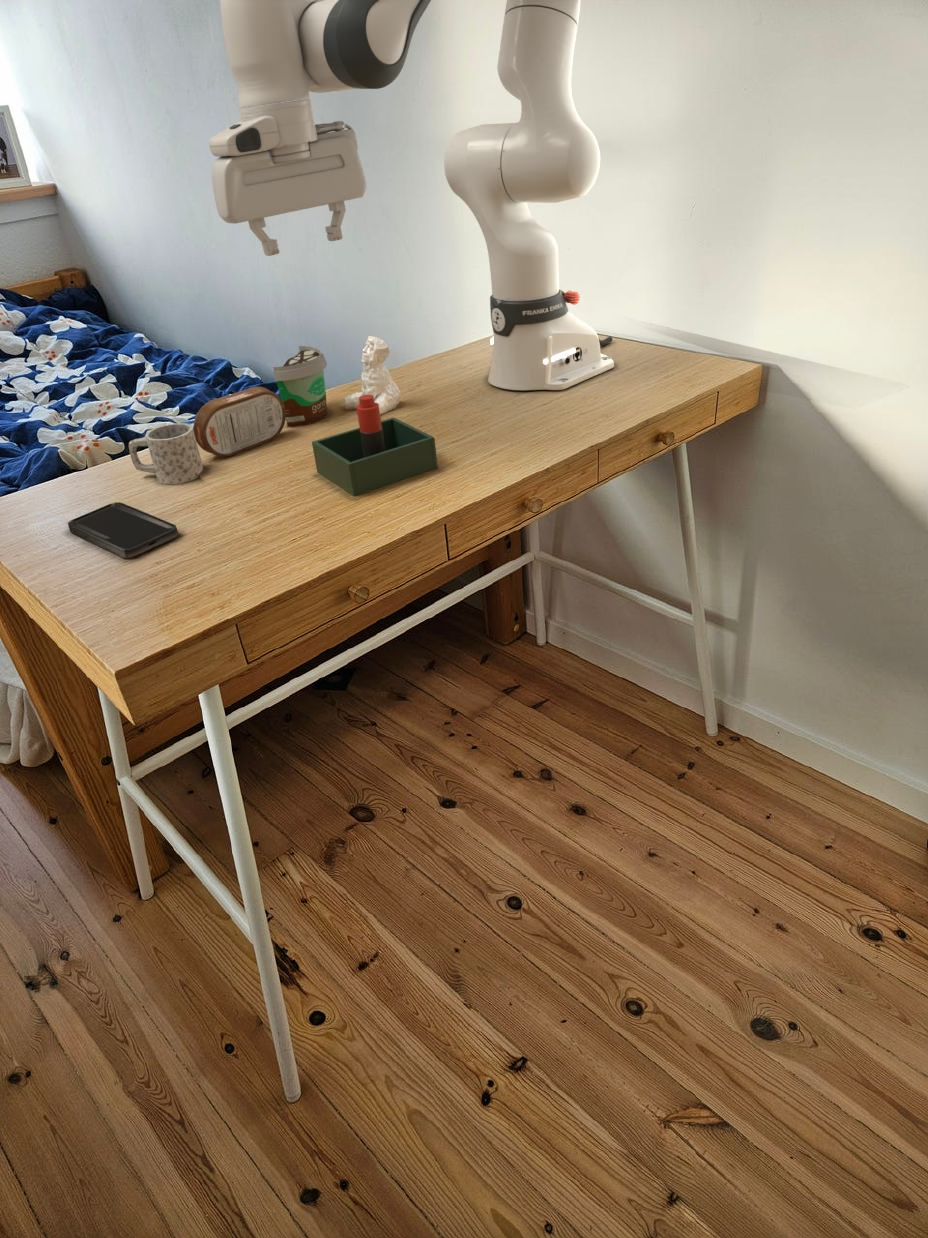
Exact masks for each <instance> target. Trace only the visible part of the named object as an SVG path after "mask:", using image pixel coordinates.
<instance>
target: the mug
mask: <svg viewBox="0 0 928 1238" xmlns="http://www.w3.org/2000/svg"><path fill="white" fill-rule="evenodd" d="M193 428H194V426H193V425H192V424H189V423H185V422H177V423H168V424H164V425H160V426H159V425H158V426H156V427H154V428H152V429H150V430H149V431H147V432H146V433H145V436H143V437H139V438H135V439H132V440H130V441H129V442H128V450H129V456H130V459H131V462H132V464H133V467H134V468H135V470H137V471H140V472H145V473H150V474H155V475H156V479H157V481H158V483H161V484H163V485H179V484H180V485H181V484H185V483H188V482H192V481H194V480H196V479H198V478H200V475H199V474H201V473H202V472H203V470H204V466H203V461H202V458H201V453H200V450H199V445H198V443H197V442H196V438H195V434H194V430H193ZM138 447H148V452H149V454H150V459H151V461H152V463H150V464H144V463H142V462H141V460H140V459H139V458H140V457H139V455H138V451H137V450H138V449H137V448H138Z"/></svg>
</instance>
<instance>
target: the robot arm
mask: <svg viewBox="0 0 928 1238" xmlns="http://www.w3.org/2000/svg"><path fill="white" fill-rule="evenodd" d="M581 1H582V0H506V4H505V9H504V16H503V24H502V31H501V38H500V44H499V52H498V58H497V65H496V66H497V67H496V69H497V74H498V77H499V80H500V83H501V85H502V87H503V88H504V89H505V90H506V91H507V92H508V93H509V94H510V95H511V96H513V97H514V98H515V99H517V100H519V101H520V106H521V108H520V110H521V112H520V119H519V121H518V122H506V123H505V122H503V123H484V124H479V125H476V126H472V127H468V128H466V129H464V130H460V131H458V132H456V133H455V134H454V135H453V136H452V137H451V138H450V140H449V142H448V144H447V146H446V149H445V153H444V159H443V168H444V176H445V178H446V182H447V184H448V186H449V187H450V189H451V191H452V192H453V193H454V194H455V195H456V196H457V197H459V199H460V200H462V201H463V203H465V205H466V206H467V207H468V208H469V210H470V211H471V213H472V214H473V216H474V218H475V220H476V222H477V223H478V226H479V227H480V230H481V232H482V235H483V238H484V241H485V244H486V248H487V255H488V262H489V272H490V281H491V295H490V296H489V310H490V321H491V322H490V323H491V326H492V332H493V333H492V335H493V336H492V337H491V338H490V340H489V341H490V345H492V352H491V353H492V354H491V361H490V368H489V373H488V378H487V381H488V383H489V384H490V385H491V386H493V387H496V388H499V389H504V390H510V391H538V390H539V391H541V390H542V391H543V390H547V391H563V390H566V389H569V388H571V387H573V386H575V385H577V384H579V383H581V382H584V381H586V380H588V379H591V378H593V377H595V376H597V375H601V374H602V373H605V372H607V371H610V370H611V369H613V368H615V361H614V360H613V359H612V357H610V356H607V355H606V354H603V353H602V352H601V347H603V346H607V345H608V344H610V343H611V342H612V341H613V336H608V337H606V338H605V339H600V338H599V336H598V334H597V332H596V331H595V329H594V328H593V327H591V326H590V325H588V323H585V322H584V321H583V320H581V319H580V318H578V317H577V316H575V315H574V314H573V313H571V312H570V311H569V307H568V305H567V304H571V305H575V306H576V305H577V304H578V303H579V301H580V300H581V299H580V298H581V295H580V294H579V292H578V291H572V290H567V291H566V292H565V291H563V290H562V289H560V275H559V274H560V273H559V272H560V271H559V270H560V269H559V247H558V243H557V240H556V238H555V237H554V235H553V234H552V233H551V232H550V231H549V230H547V229H546V228H545V227H543V226H541V225H540V224H539V223H538V222H537V221H536V220H535V218H534V217H533V214H532V212H531V209H530V208H529V205H528V203H532V204H533V203H543V204H544V203H545V204H546V203H547V204H553V203H555V204H556V203H561V202H566V201H570V200H575V199H577V198H582V197H584V196H586V195H587V194H588V193H589V192H590V191H591V190H592V187H593V186H594V185H595V183H596V181H597V178H598V175H599V172H600V168H601V167H600V166H601V150H600V147H599V143H598V140H597V138H596V137H595V134H594V132H592V130H591V129H590V128H589V127H588V126H587V125H586V124H585V122H584V121H583V120H582V119H581V117H580V115H579V113H578V112H577V109H576V106H575V103H574V99H573V92H572V74H573V65H574V64H573V62H574V53H575V47H576V41H577V35H578V34H577V33H578V29H579V20H580V10H581ZM431 2H432V0H220V4H219V8H220V19H221V29H222V33H223V41H224V44H225V45H224V46H225V49H226V54H227V58H228V64H229V67H230V71H231V72H232V75H233V76H234V79H235V81H236V85H237V89H238V90H237V91H238V108H239V114H240V117H241V119H240V120H238V121H237V122H235V123H234V124H232V125H230V126H229V127H227V128H225V129H223V130H222V131H220V132H219V133H216V134H215V135H214V136H212V137H211V138H210V139H209V141H208V146H209V150H210V153H211V154H212V155H213V156H214V157H218V158H216V159H215V160H214V162H213V164H212V166H211V182H212V183H211V184H212V190H213V196H214V202H215V206H216V211H217V214H218V216H219V217H220V218H221V219H222V220H223V221H224V222H225V223H227V224H240V223H241V224H242V223H244V222H245V223H246V222H248V226H249V229H250V231H251V232H252V233H253V234H254V235H255V237H256V238H257V239H258V241H260V242H261V245H262V251H263V253H264V255H265V256H267V257H271V256H274V255H275V256H276V255H278V254H280V248H279V243H278V240H277V238H275V239H274V238H270V237H269V236H268V234H267V233H266V232H265V230H264V229H263V228H266V221H265V218H269V217H275V216H278V215H284V214H288V213H294V212H298V211H302V210H308V209H312V208H317V207H322V206H328V210H329V212H332V215H331V221H330V225H328V226H324V228H325V233H326V239H327V241H329V242H336V241H341V240H342V239H343V232H342V224H343V221H344V218H345V214H346V205H345V201H351V200H355V199H359V198H363V197H364V196H365V194H366V191H367V181H366V177H365V172H364V168H363V165H362V160H361V158H360V155H359V152H358V148H359V147H358V140H357V135H356V132H355V130H354V129H353V128H352V126H351V125H349V124H347V123H345V122H344V121H343V120H335V121H333V122H329V123H326V122H324V123H317V124H316V122H315V117H314V112H313V106H312V100H311V96H310V93H317V94H321V93H322V94H323V93H324V94H325V93H332V92H342V91H349V90H355V89H358V90H379V89H380V90H381V89H383V88H386V87H388V86H389V85H390V84H392V83H393V82H394V81H395V80H396V79H397V78H398V77H399V76H400V74H401V72H402V70H403V67H404V66H405V63H406V60H407V57H408V55H409V49H410V46H411V42H412V39H413V35H414V33H415V30H416V28H417V25H418V23H420V22H419V21H420V20H421V18H422V17H423V14H424V13H425V12H426V9H427V8H428V6H429V5H430V3H431ZM345 128H346V129H345Z"/></svg>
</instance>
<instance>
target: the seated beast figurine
mask: <svg viewBox="0 0 928 1238" xmlns="http://www.w3.org/2000/svg"><path fill="white" fill-rule="evenodd" d="M361 350H362V351H361V352H362V354H361V355H362V356H361V361H360V362H361V364H363V365H362V372H361V376H360V379H361V391H360V392H354V393H350V395H347V396H346V397H344V404H345V408H346V410H347V411H353V410H357V405H359V404H360V402H359V397H360V396H362V395H373V396H374V402H376V403H378V404H379V411H380V416H382V415H383V414H387V413H389V412H391V411H393V410H396V408H397V407H398V405H399V403H400V401H401V398H402V392H401V390H400V389H399V387H398V385H397V383H396V382H395V381H394V380H393V378H392V376H391V373H390V372H389V369H388V367H387V366H386V365H385V364H384V362H386V359H387V358H389V354H390V348H389V345H388V344H387V343H386V341H385V340H384V339H382V338H380V337H377V336H374V335H373V336H372V335H368V336H367V338H366V341H365V346H364V348H363V349H361Z"/></svg>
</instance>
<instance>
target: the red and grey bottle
mask: <svg viewBox="0 0 928 1238" xmlns="http://www.w3.org/2000/svg"><path fill="white" fill-rule="evenodd" d="M359 402H360V404H359V405H357V409H356V413H357V420H358V428H360V436H361V443H362V449H363V456H364V458H365V457H369V456H372V455H375V454H378V453H381V452H384V451H385V444H384V437H383V430H382V425H381V421H382V418H381V415H380V411H379V404H378V403H376V402H374V396H373V395H362V396H360V397H359Z"/></svg>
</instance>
